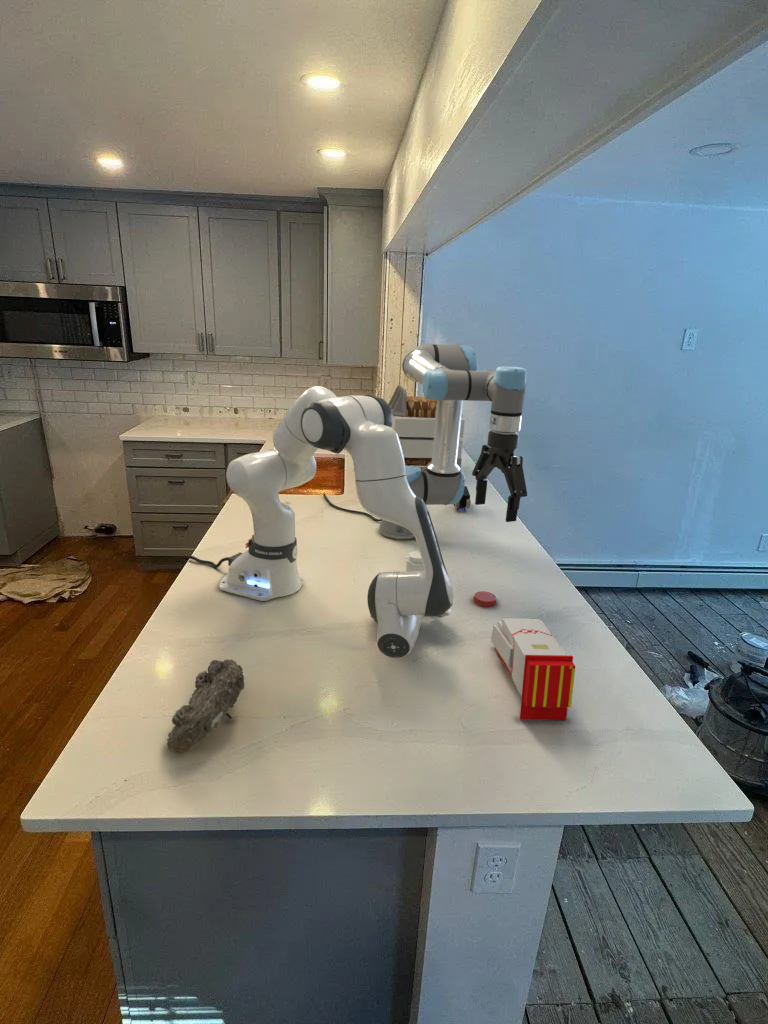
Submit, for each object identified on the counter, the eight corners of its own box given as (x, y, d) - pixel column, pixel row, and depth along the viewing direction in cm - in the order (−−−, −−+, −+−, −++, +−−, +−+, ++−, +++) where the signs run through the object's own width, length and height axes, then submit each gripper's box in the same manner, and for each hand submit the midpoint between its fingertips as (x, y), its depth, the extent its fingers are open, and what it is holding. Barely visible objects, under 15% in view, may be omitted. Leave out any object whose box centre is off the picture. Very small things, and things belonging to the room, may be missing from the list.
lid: (488, 595, 159) (489, 590, 159) (499, 605, 154) (500, 600, 154) (469, 598, 157) (470, 592, 157) (480, 608, 152) (480, 602, 152)
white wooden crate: (382, 463, 289) (386, 382, 275) (445, 464, 293) (451, 384, 279) (390, 482, 257) (394, 392, 243) (460, 483, 261) (468, 394, 247)
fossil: (192, 660, 117) (244, 628, 112) (224, 691, 120) (276, 661, 115) (142, 746, 98) (202, 712, 93) (182, 779, 101) (242, 748, 96)
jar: (405, 610, 149) (408, 559, 144) (402, 600, 154) (405, 550, 149) (425, 610, 150) (429, 558, 145) (421, 600, 155) (425, 550, 150)
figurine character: (470, 516, 223) (465, 500, 237) (473, 499, 220) (467, 484, 233) (453, 516, 223) (449, 500, 236) (455, 498, 220) (451, 483, 233)
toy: (537, 603, 136) (584, 662, 106) (532, 655, 138) (577, 726, 109) (487, 602, 135) (520, 661, 106) (483, 654, 138) (514, 725, 109)
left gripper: (450, 605, 132) (455, 579, 145) (365, 593, 136) (377, 569, 149) (448, 628, 134) (453, 601, 147) (364, 616, 138) (376, 591, 151)
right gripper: (463, 422, 149) (456, 498, 156) (523, 443, 128) (512, 530, 135) (487, 421, 152) (479, 496, 159) (549, 441, 131) (537, 527, 138)
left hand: (414, 585), depth 148 cm, fingers open, 8 cm apart
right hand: (494, 512), depth 147 cm, fingers open, 13 cm apart
